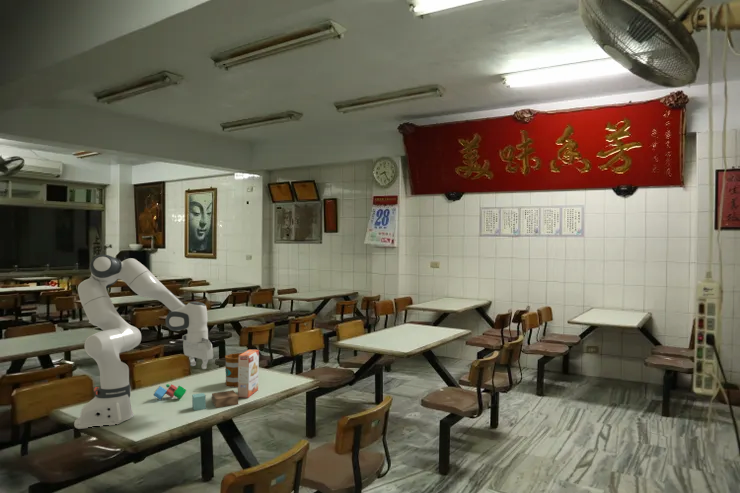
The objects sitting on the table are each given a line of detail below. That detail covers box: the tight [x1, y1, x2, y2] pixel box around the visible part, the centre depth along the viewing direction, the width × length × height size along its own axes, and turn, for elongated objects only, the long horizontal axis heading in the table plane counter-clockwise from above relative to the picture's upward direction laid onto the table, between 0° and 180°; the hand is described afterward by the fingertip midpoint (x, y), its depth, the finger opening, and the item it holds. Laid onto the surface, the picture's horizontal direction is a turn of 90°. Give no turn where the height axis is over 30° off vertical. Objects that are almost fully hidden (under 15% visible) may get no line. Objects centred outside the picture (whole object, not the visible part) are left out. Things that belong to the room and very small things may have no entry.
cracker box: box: [237, 349, 260, 399], centre depth 246 cm, size 14×6×21 cm, turn 173°
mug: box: [224, 352, 243, 388], centre depth 262 cm, size 20×14×15 cm
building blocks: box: [153, 383, 187, 400], centre depth 239 cm, size 8×8×12 cm
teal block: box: [191, 392, 207, 411], centre depth 225 cm, size 5×5×6 cm
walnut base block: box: [211, 389, 239, 409], centre depth 232 cm, size 10×10×4 cm
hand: (198, 367), depth 225 cm, fingers open, 8 cm apart
